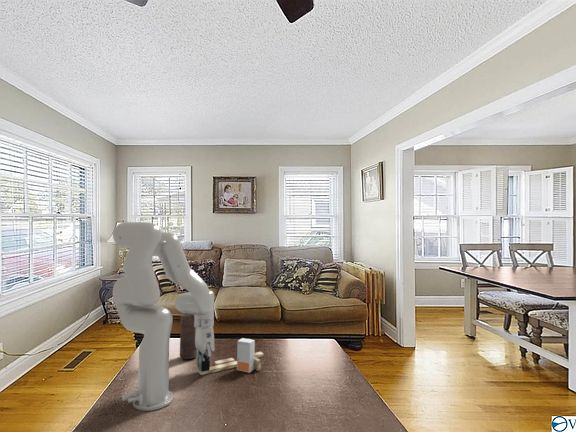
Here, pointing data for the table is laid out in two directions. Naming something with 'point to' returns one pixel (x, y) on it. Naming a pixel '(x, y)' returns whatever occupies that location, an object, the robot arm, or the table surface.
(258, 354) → the broken strip
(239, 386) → the table surface
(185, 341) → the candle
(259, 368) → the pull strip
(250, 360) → the skincare box
